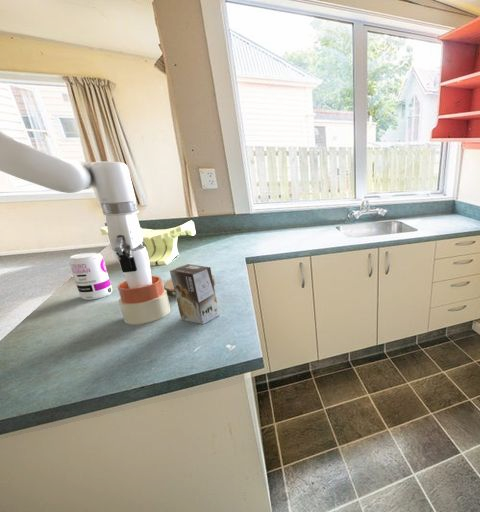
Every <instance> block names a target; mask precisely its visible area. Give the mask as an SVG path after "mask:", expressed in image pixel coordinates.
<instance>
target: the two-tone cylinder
mask: <svg viewBox="0 0 480 512" xmlns="http://www.w3.org/2000/svg"><path fill="white" fill-rule="evenodd" d="M163 289H164V288H163ZM118 305H119V309H120V312H121V315H122V318H123V321H124V323H125V324H128V325H143V324H148V323H151V322H155V321H158V320H161V319H162V318H164V317H166V316H168V315H169V314H170V313H171V311H172V309H171V303H170V300H169V296H168V295H167V291H166V290H165V289H164V293H163V295H161V296H159V297H158V298H155V299H153V300H149V301H146V302H141V303H134V304H127V303H123V302H122V301H121V298H120V297H119V299H118Z"/></svg>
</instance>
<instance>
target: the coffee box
mask: <svg viewBox="0 0 480 512" xmlns="http://www.w3.org/2000/svg"><path fill="white" fill-rule="evenodd" d="M169 273H170V279H172V282H173V287H174V291H175V295H176V297H175V299H176V303H177V307H178V311H179V315H180V320H182V321H186V322H191V323H196V324H201V325H204V324H205V325H206V324H207V323H209V322H210V321H211V320H213V319H215V318H217V317H219V316H220V312H219V305H218V301H217V295H216V290H215V286H214V284H213V279H212V275H213V274H212V267H211V266H203V265H199V264H190V263H187V264H184V265H181V266H179V267H176V268H174V269H171V270H169Z"/></svg>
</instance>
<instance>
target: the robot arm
mask: <svg viewBox="0 0 480 512" xmlns="http://www.w3.org/2000/svg"><path fill="white" fill-rule="evenodd" d="M0 172H3V173H4V174H7V175H9V176H11V177H15V178H17V179H20V180H24V181H26V182H28V183H32V184H35V185H37V186H40V187H43V188H46V189H49V190H53V191H56V192H60V193H66V194H74V193H79V192H82V191H84V190H88V189H96V192H97V196H98V200H99V204H100V208H101V210H102V214H103V216H105V222H106V226H107V230H108V239H109V243H110V247H111V250H112V251H114V252H116V256H117V255H118V256H117V260H118V259H119V260H118V263H119V262H120V264H119V266H120V265H121V267H120V269H121V272H122V273H123V272H133V271H136V270H137V267H136V263H135V260H134V257H132V250H133V249H135V248H136V247H137V246H145V244H144V243H143V237H142V232H141V228H142V227H141V224H140V222H139V219H138V215H137V214H138V213H140V210H139V206H138V203H137V199H136V195H135V190H134V186H133V182H132V178H131V174H130V170H129V166H128V165H127V164H126V163H124V162H123V161H91V162H89V161H80V160H73V159H71V160H69V159H67V160H66V159H63V158H60V157H58V156H55V155H52V154H50V153H47V152H45V151H42V150H40V149H37V148H35V147H32V146H30V145H27V144H26V143H23V142H22V141H19V140H17V139H15V138H13V137H11V136H10V135H9V134H7V133H6V132H5V131H3V130H2V129H0ZM126 251H128V253H127V252H126Z"/></svg>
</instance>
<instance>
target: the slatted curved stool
mask: <svg viewBox="0 0 480 512" xmlns="http://www.w3.org/2000/svg"><path fill="white" fill-rule="evenodd" d="M140 228H141V232H142V237H143V242H142V243H143V245H144V246H145V247H146V250H147V253H148V257H149V262H150V266H157V265H158V266H165V265H169V264H170V263H171V262H173V261H174V260H175V259H176V258H175V257H176V256H177V255H179V256H180V254H179V250H178V237H180V236H187V235H188V236H191V237H193V236H195V235H196V234H197V232H196V226H195V222H194V221H193V220H189V221H187V222H185V223H183V224H181V225H178V226H176V227H171V228H166V229H165V228H164V229H150V228H142V227H140ZM100 232H101V235H102V236H105V235H106V236H107V235H108V230H107V225H106V226H103V227H100ZM108 236H109V235H108ZM174 258H175V259H174ZM173 259H174V260H173ZM172 260H173V261H172Z"/></svg>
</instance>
